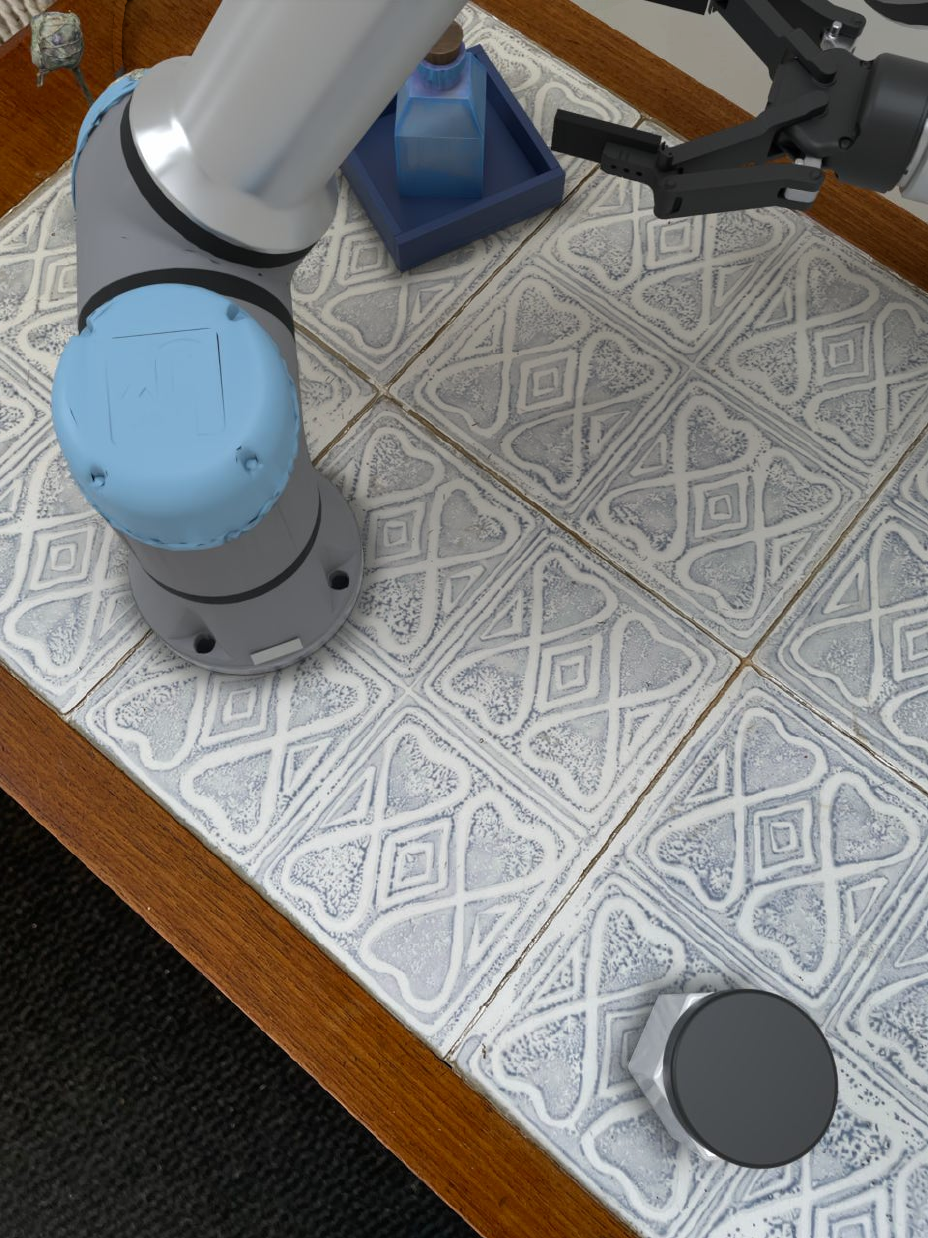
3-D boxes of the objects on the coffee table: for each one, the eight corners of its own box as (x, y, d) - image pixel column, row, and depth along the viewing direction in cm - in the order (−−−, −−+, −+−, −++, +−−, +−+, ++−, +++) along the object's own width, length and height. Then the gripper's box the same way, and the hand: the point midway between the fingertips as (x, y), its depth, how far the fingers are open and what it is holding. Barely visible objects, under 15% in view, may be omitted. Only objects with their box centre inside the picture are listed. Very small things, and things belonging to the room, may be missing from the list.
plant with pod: (241, 220, 84) (177, -6, 65) (98, 276, 82) (-9, 61, 63) (200, 141, 86) (128, -100, 67) (61, 194, 85) (-54, -37, 66)
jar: (739, 1175, 63) (800, 1213, 52) (608, 1103, 65) (640, 1125, 53) (798, 1025, 66) (868, 1031, 55) (671, 958, 67) (714, 950, 56)
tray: (323, 140, 86) (318, 107, 83) (479, 76, 88) (480, 42, 85) (400, 273, 83) (398, 244, 79) (562, 203, 85) (566, 173, 82)
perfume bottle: (484, 131, 86) (488, -1, 74) (481, 198, 84) (485, 73, 72) (403, 129, 86) (395, -4, 74) (399, 195, 84) (389, 70, 72)
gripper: (855, 334, 68) (523, 242, 70) (928, 32, 76) (626, -43, 78) (902, 256, 61) (531, 157, 63) (977, -68, 69) (644, -148, 71)
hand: (583, 46), depth 71 cm, fingers open, 13 cm apart
